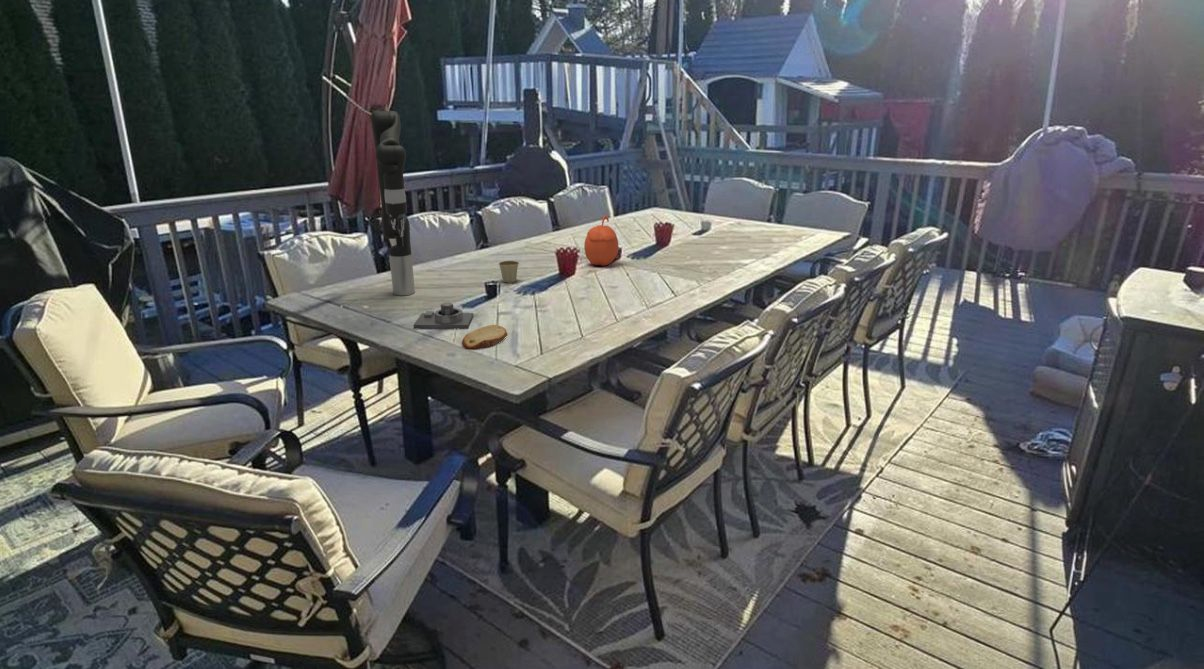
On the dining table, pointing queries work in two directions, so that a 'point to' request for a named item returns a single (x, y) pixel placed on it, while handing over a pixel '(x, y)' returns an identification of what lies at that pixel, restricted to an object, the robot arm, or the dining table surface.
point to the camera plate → (429, 322)
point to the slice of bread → (484, 337)
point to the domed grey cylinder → (447, 309)
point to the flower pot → (509, 270)
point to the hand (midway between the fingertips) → (400, 246)
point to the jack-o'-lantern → (601, 244)
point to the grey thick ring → (449, 317)
